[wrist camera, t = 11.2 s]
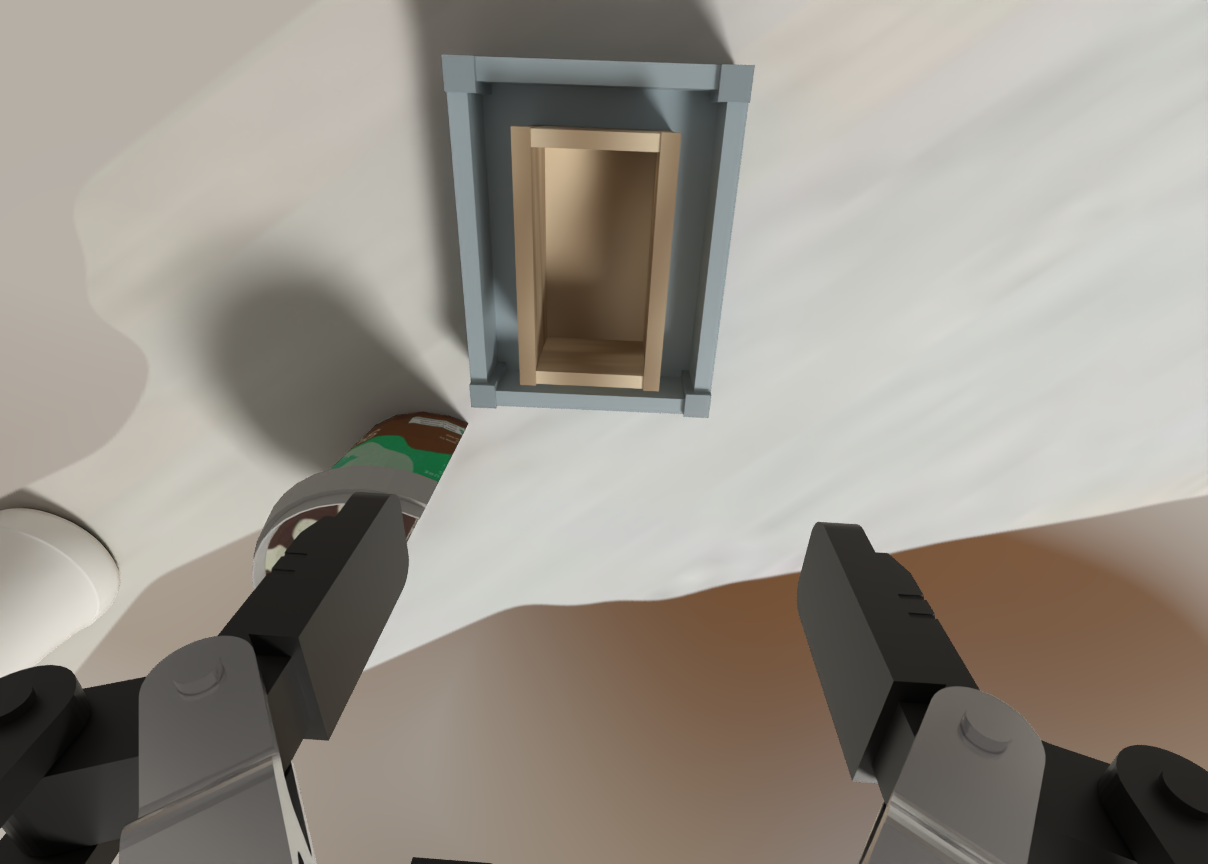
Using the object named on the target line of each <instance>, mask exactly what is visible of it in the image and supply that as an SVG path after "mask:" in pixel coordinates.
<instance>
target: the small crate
mask: <svg viewBox="0 0 1208 864" xmlns="http://www.w3.org/2000/svg"><path fill="white" fill-rule="evenodd" d="M680 144H681V133H680V132H673V131H671V130H648V129H623V128H598V127H574V126H549V125H528V126H511V152H512V179H513V207H514V234H515V261H516V288H517V316H518V343H519V370H520V385H532V386H536V384H553V385H574V386H595V387H616V388H637V389H643V391H659V384H660V372H661V361H662V350H663V338H664V327H665V315H666V304H667V292H668V281H669V270H670V258H671V247H672V235H673V224H674V212H675V201H676V190H677V178H678V167H679V155H680Z"/></svg>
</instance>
